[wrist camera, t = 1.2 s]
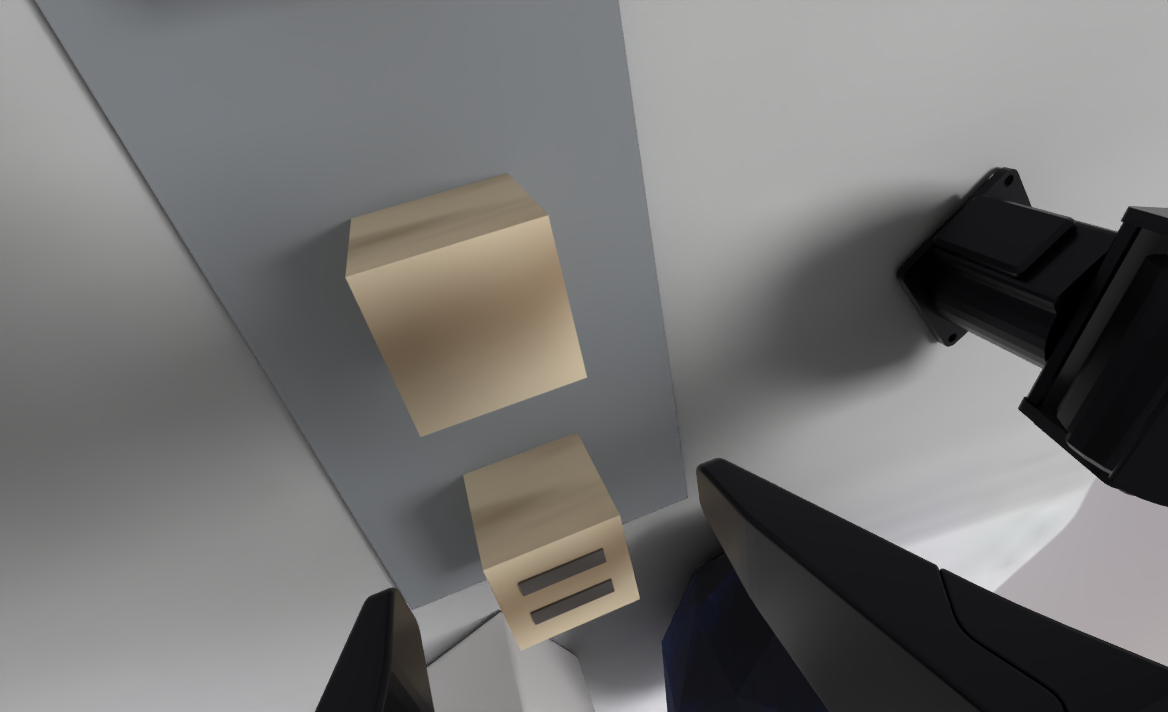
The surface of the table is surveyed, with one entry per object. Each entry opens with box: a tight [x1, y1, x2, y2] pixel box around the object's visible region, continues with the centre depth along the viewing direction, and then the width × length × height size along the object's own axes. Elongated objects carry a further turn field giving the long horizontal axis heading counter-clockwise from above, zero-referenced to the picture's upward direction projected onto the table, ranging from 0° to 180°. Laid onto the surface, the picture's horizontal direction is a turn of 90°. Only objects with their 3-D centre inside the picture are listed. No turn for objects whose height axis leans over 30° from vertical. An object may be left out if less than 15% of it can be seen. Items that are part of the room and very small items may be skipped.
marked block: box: [463, 432, 640, 650], centre depth 23 cm, size 5×5×5 cm
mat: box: [35, 0, 688, 610], centre depth 19 cm, size 30×14×1 cm, turn 12°
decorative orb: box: [662, 553, 829, 712], centre depth 28 cm, size 14×15×15 cm
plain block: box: [345, 173, 587, 437], centre depth 17 cm, size 5×5×5 cm
